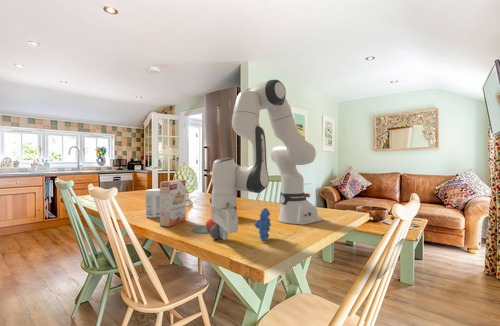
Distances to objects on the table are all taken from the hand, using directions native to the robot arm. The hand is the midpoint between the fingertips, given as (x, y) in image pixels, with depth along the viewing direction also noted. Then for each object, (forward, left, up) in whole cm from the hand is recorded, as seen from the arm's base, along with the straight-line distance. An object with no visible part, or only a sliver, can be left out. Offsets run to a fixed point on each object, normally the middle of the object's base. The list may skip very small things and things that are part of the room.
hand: (224, 238), depth 93 cm
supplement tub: (+20, -58, -2) cm, 61 cm away
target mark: (0, -21, -2) cm, 21 cm away
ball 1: (0, -16, +1) cm, 16 cm away
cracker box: (+13, -38, -2) cm, 40 cm away
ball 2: (+1, -6, +1) cm, 6 cm away
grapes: (-15, +3, -2) cm, 15 cm away
